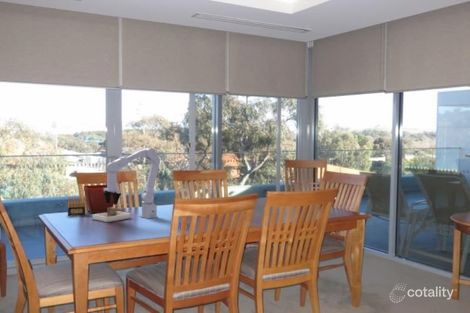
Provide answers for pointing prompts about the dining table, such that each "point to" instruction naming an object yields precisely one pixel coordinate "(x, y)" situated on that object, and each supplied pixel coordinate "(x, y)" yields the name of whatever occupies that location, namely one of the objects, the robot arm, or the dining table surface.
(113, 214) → the walnut block
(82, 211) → the ammunition clip
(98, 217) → the tray
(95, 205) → the plant pot
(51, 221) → the dining table surface
